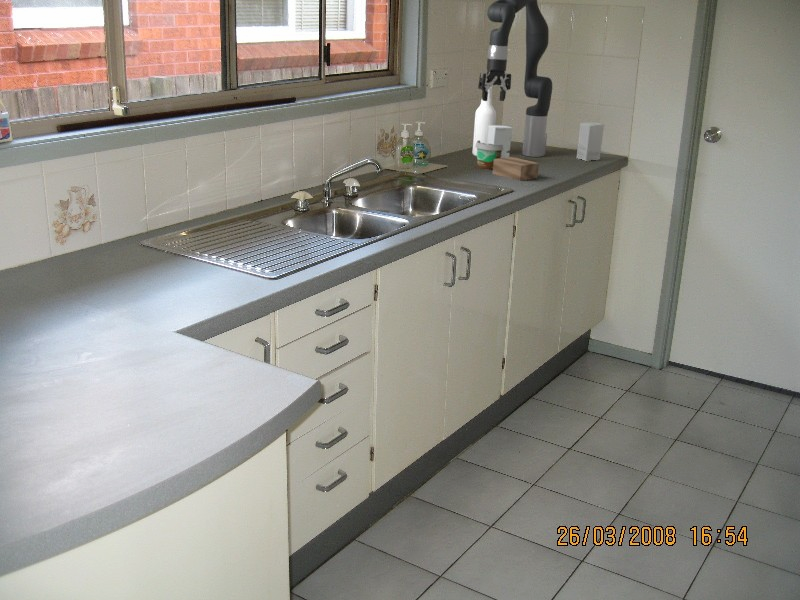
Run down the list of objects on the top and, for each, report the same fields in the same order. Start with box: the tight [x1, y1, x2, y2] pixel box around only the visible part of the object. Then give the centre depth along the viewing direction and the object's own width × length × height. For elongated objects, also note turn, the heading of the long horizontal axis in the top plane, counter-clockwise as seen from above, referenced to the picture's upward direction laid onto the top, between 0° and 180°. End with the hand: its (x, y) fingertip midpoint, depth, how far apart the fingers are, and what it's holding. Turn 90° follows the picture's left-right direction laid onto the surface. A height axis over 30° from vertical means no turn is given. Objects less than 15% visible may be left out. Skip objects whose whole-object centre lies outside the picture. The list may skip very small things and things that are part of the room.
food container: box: [475, 140, 503, 171], centre depth 346 cm, size 12×6×10 cm, turn 47°
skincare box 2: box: [576, 121, 605, 162], centre depth 372 cm, size 8×7×16 cm
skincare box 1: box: [487, 124, 513, 158], centre depth 358 cm, size 8×6×15 cm
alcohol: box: [471, 85, 497, 157], centre depth 369 cm, size 9×9×30 cm
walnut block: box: [492, 156, 540, 182], centre depth 336 cm, size 10×14×6 cm
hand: (493, 100), depth 341 cm, fingers open, 8 cm apart
